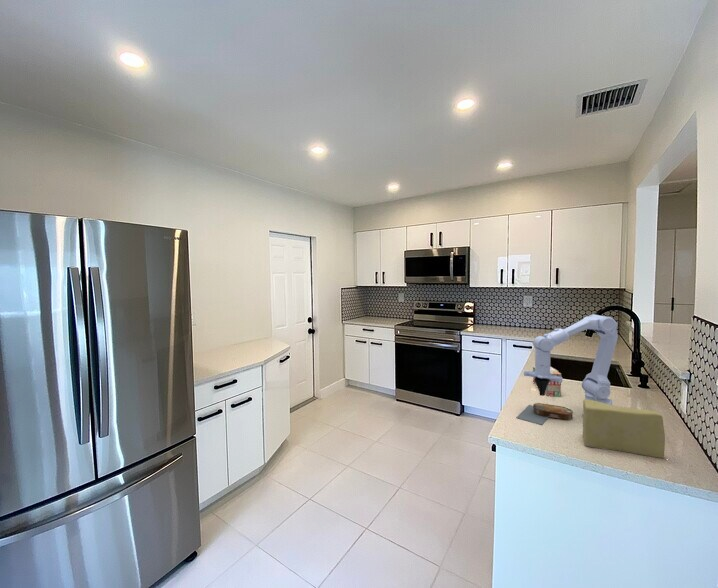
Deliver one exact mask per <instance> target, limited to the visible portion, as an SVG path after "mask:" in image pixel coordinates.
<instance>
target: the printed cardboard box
mask: <svg viewBox="0 0 718 588" xmlns="http://www.w3.org/2000/svg"><path fill="white" fill-rule="evenodd" d="M532 371H533V372H535V366H532ZM550 374H552V375H555V376H559V377H562V373H561V372H559V370H557V369H556V368H554V367H552V366H550ZM533 382H534V383H535V384H536V382H535V377H532V383H533ZM534 383H533V384H534ZM535 384H534V385H535ZM536 385H537V384H536ZM536 385H535V386H536ZM561 386H562V383H560V382H557V381H552V380H550V382H549V384H548V386H547V388H546V391H545V394H546V395H547V396H546V395H545V396H546V397H549V396H550V398H551V397H552V398H553V397H554V398H555V397H556V398H561V396H562V395H561V393H562V392H561V391H562V389H561V388H562V387H561Z"/></svg>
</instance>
